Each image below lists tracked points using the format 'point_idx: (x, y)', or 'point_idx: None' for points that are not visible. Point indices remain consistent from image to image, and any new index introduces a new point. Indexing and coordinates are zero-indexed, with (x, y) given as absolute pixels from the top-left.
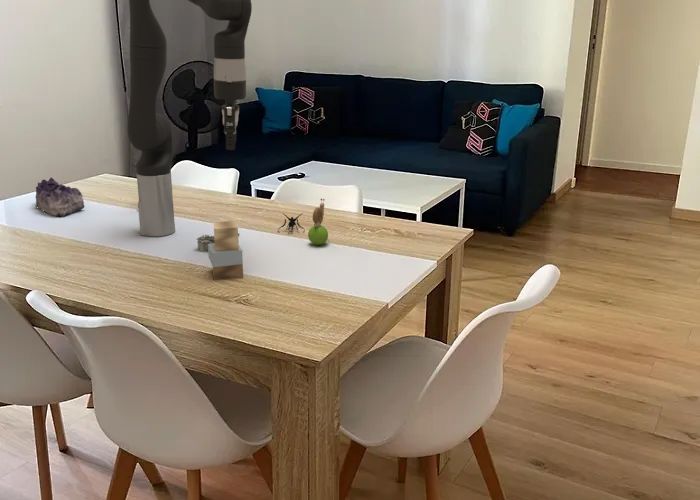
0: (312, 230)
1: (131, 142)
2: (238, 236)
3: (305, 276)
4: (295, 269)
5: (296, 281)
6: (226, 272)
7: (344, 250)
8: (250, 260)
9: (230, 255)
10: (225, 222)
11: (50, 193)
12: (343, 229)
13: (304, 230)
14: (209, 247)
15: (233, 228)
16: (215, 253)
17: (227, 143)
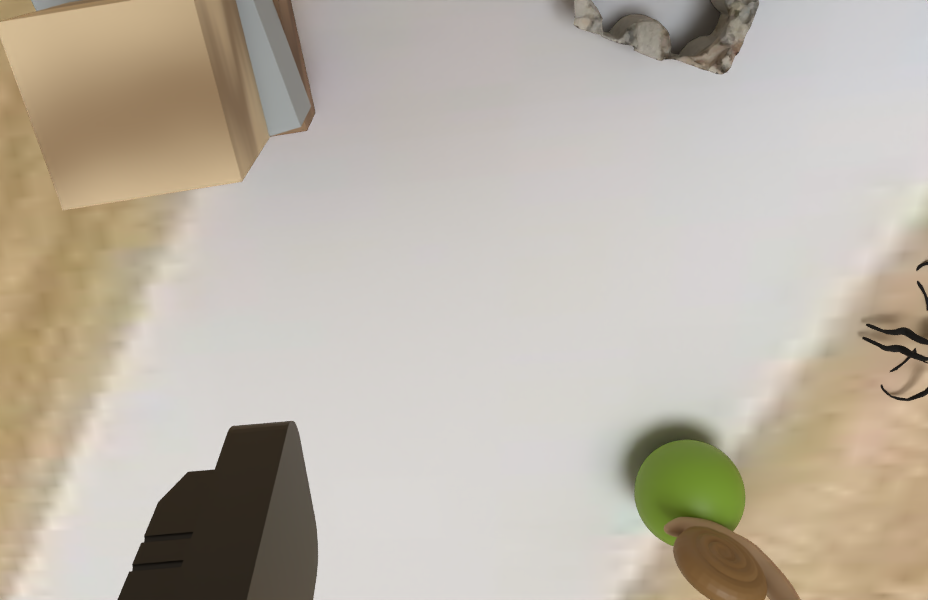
0: (672, 491)
1: None
2: (708, 67)
3: (211, 426)
4: (303, 380)
5: (139, 392)
6: None
7: (573, 567)
8: (437, 149)
9: None
10: (192, 96)
11: None
12: (893, 560)
13: (898, 399)
14: None
15: (54, 176)
16: (36, 8)
17: (146, 542)
